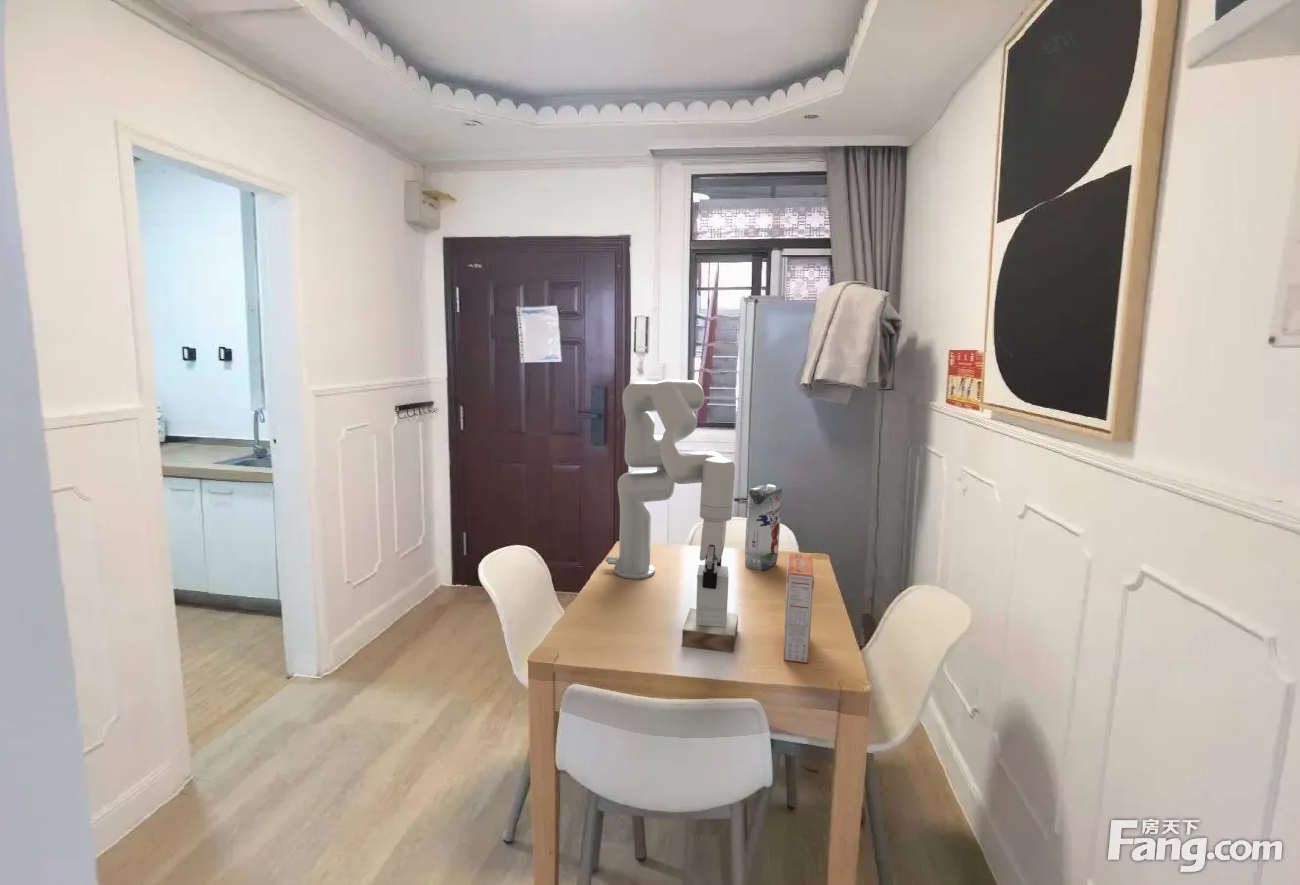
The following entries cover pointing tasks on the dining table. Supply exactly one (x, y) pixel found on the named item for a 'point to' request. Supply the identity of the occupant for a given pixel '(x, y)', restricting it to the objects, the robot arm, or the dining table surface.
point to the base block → (710, 634)
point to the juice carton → (762, 527)
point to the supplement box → (712, 599)
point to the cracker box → (798, 608)
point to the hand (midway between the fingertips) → (711, 580)
